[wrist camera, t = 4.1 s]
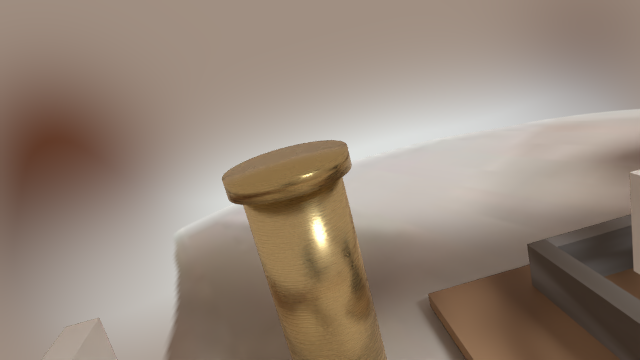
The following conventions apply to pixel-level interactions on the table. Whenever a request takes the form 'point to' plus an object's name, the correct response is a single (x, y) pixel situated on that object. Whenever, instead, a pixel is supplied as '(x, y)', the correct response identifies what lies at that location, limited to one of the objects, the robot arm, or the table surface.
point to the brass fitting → (309, 249)
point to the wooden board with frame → (553, 302)
